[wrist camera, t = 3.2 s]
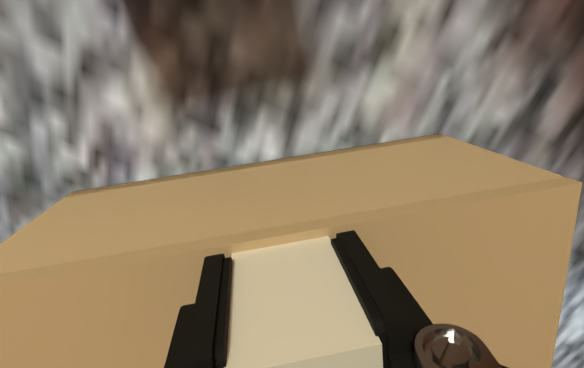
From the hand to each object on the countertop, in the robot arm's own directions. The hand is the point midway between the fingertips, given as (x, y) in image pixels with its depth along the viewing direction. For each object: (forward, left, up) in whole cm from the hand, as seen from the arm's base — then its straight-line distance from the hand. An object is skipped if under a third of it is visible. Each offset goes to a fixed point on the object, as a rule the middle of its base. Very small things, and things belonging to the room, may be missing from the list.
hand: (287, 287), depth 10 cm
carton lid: (0, +6, -1) cm, 7 cm away
